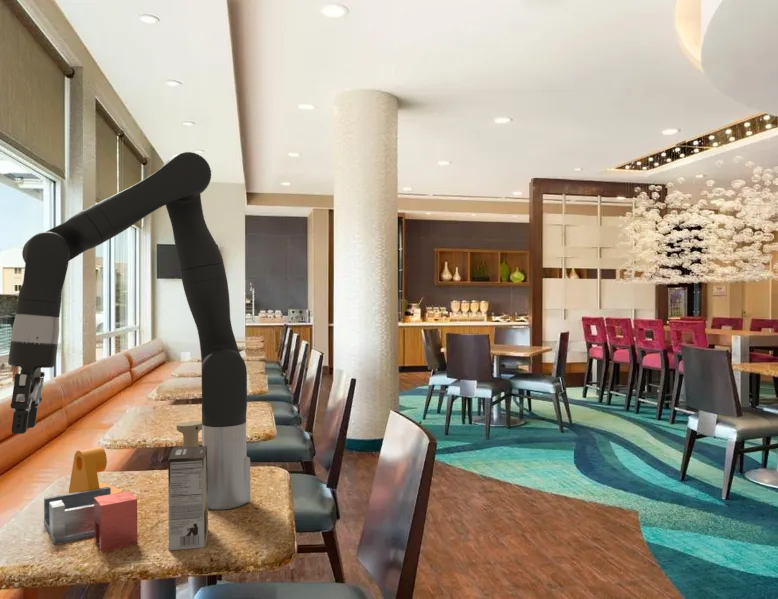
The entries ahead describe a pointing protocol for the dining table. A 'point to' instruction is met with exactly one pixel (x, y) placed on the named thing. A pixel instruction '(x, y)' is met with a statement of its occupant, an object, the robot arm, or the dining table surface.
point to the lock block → (115, 520)
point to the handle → (190, 432)
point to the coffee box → (188, 497)
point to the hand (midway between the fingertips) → (23, 430)
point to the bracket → (89, 470)
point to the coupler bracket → (71, 515)
